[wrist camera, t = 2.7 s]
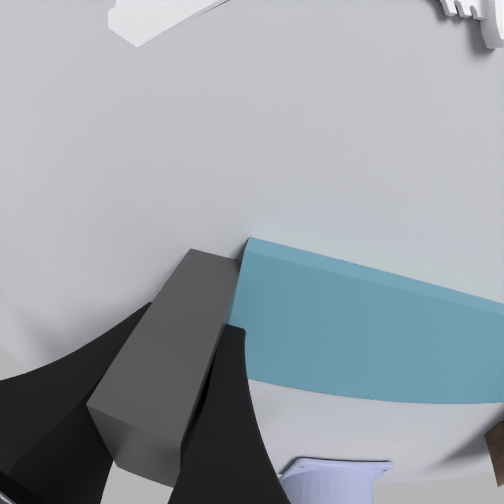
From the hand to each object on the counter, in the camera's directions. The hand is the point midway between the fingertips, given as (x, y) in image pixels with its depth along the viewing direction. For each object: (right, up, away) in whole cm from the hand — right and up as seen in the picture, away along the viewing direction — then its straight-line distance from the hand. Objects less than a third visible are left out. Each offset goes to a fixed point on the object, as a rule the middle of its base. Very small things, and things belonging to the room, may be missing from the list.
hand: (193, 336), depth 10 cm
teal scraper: (+10, -2, +2) cm, 11 cm away
